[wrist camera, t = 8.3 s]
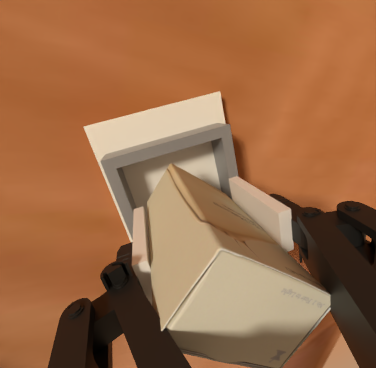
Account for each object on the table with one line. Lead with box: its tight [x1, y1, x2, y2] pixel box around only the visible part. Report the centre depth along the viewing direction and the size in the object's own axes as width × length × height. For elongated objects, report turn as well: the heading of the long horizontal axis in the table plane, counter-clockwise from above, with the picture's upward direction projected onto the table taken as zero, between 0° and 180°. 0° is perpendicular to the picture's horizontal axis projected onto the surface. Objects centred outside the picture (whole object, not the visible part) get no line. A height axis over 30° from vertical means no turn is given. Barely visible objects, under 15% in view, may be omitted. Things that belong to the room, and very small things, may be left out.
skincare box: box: [147, 164, 331, 368], centre depth 13 cm, size 6×4×12 cm
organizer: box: [84, 91, 239, 243], centre depth 23 cm, size 14×16×5 cm
